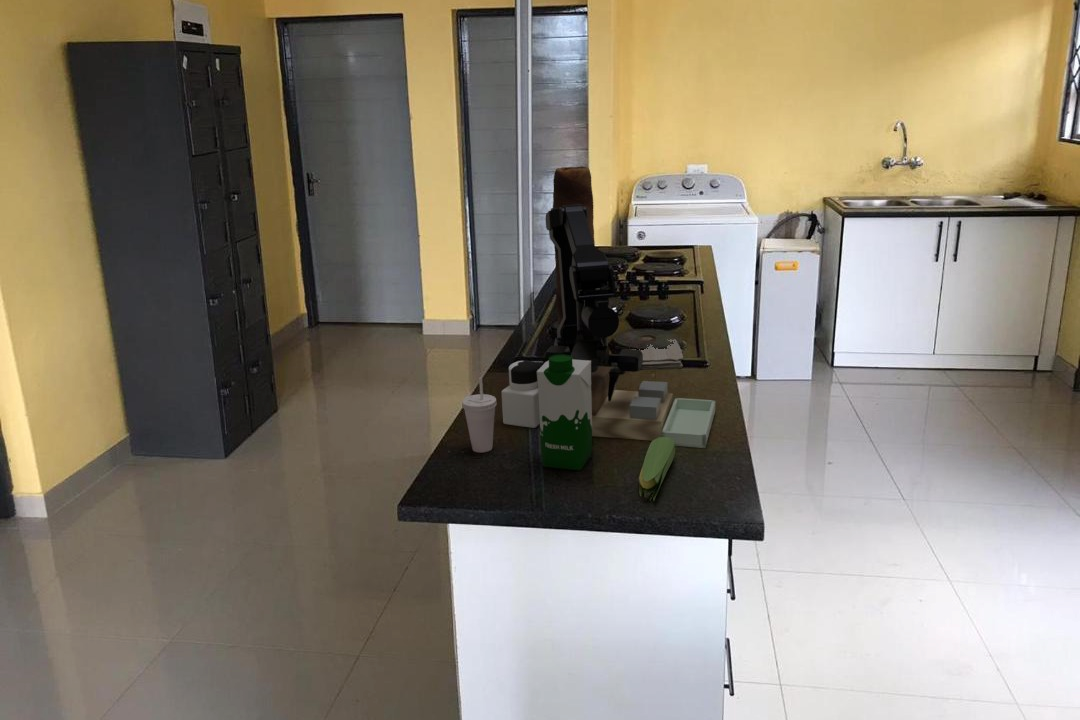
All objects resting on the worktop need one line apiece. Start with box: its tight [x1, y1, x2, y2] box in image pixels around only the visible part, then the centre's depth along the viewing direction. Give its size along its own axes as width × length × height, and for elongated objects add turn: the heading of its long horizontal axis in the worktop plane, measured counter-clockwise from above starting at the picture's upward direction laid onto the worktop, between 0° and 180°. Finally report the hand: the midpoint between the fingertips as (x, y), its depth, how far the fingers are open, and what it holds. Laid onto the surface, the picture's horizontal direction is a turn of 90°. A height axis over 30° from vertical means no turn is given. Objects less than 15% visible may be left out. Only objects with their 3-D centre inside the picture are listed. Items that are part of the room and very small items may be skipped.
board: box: [592, 389, 674, 442], centre depth 170 cm, size 17×15×4 cm
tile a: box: [637, 380, 669, 403], centre depth 171 cm, size 5×5×2 cm
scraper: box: [591, 366, 612, 416], centre depth 170 cm, size 4×14×5 cm, turn 164°
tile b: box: [630, 396, 661, 420], centre depth 163 cm, size 5×5×2 cm
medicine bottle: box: [500, 360, 540, 429], centre depth 172 cm, size 7×7×12 cm
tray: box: [662, 397, 716, 449], centre depth 166 cm, size 8×18×2 cm, turn 164°
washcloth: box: [639, 338, 684, 370], centre depth 208 cm, size 12×18×3 cm, turn 179°
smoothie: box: [461, 377, 497, 453], centre depth 159 cm, size 6×6×14 cm
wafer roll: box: [552, 166, 596, 328], centre depth 210 cm, size 10×11×45 cm
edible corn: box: [638, 437, 676, 501], centre depth 146 cm, size 5×20×5 cm
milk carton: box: [537, 354, 593, 471], centre depth 152 cm, size 9×9×20 cm
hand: (593, 399), depth 171 cm, fingers open, 6 cm apart
